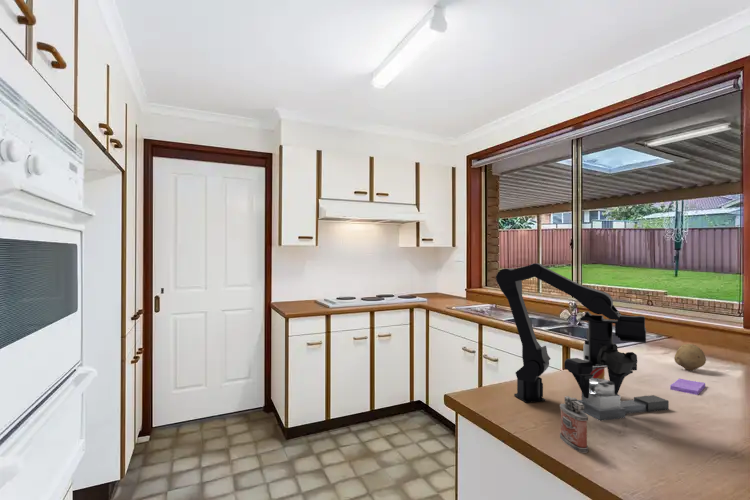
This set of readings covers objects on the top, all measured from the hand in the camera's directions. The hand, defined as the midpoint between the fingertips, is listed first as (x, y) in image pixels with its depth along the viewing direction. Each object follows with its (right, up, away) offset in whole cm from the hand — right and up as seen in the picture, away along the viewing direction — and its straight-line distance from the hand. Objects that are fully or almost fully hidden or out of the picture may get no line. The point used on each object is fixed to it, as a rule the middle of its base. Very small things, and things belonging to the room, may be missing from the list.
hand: (600, 396), depth 105 cm
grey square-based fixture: (0, -2, 0) cm, 2 cm away
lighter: (-16, -4, -18) cm, 24 cm away
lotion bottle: (+7, -5, +16) cm, 18 cm away
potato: (+58, -6, +41) cm, 71 cm away
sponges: (+41, -6, +21) cm, 47 cm away
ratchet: (+8, -5, +2) cm, 9 cm away
